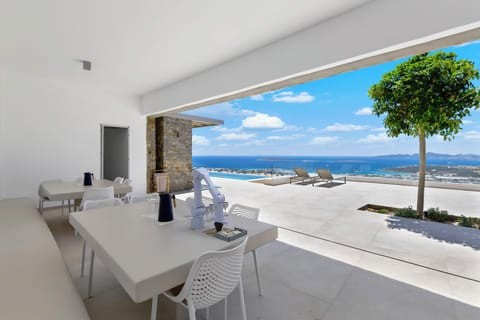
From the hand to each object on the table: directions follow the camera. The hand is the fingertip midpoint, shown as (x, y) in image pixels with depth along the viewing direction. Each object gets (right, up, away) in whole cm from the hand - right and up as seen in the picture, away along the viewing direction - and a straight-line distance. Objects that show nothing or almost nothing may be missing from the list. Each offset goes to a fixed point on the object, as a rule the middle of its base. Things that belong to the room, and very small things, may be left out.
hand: (218, 233), depth 151 cm
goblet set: (-5, -1, +40) cm, 40 cm away
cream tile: (+2, -1, -2) cm, 3 cm away
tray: (+9, -2, -2) cm, 9 cm away
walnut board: (-1, -2, +6) cm, 6 cm away
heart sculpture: (-25, -1, +41) cm, 48 cm away
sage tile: (+12, -2, +1) cm, 12 cm away
